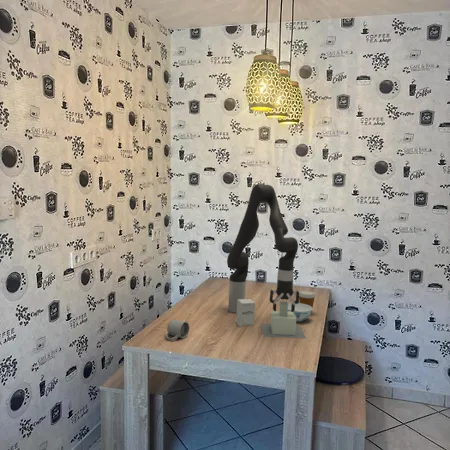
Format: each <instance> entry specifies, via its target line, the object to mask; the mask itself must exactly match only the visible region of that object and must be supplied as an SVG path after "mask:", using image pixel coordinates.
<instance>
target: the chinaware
mask: <svg viewBox="0 0 450 450" xmlns="http://www.w3.org/2000/svg"><path fill="white" fill-rule="evenodd" d="M287 303H288V302H287ZM291 304H292V302H289V303H288V311H290V312H291ZM311 312H313V308H312V307H311V306H309V305H306V304H302V303H298V304H295V310H294V311H293V313H294V315H295V317H296V322H297V323H298V322H304V321H306V320H307V319H308V318H309V317H310V316H311V315H312V314H311ZM310 314H311V315H310Z"/></svg>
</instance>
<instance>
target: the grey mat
mask: <svg viewBox="0 0 450 450" xmlns="http://www.w3.org/2000/svg"><path fill="white" fill-rule="evenodd" d="M260 326H261V332H262V335H263V337H265V338H266V337H267V338H283V339H285V338H290V339H307V337H306V335H305V333H304V330H303V328H302V326H301V324H296V333H295V335H279V334H272V331H271V327H270V323H260Z"/></svg>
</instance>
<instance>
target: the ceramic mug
mask: <svg viewBox="0 0 450 450" xmlns="http://www.w3.org/2000/svg"><path fill="white" fill-rule="evenodd" d="M166 329H167V333H166V335H165V337H166V339H167V340H168V341H169V342H170V341H171V342H172V341H175V340H177V339H178V338H179V339H186V338H187V336H188V335H189V332H190V324H189V323H188V321H184V320H176V319H171V320H170V321H169V322H168V324H167V328H166ZM169 335H170V336H172V337H169Z"/></svg>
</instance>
